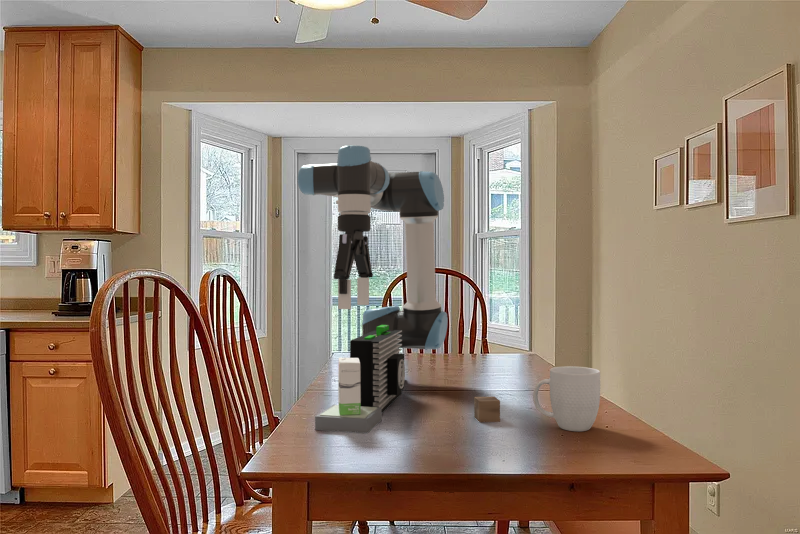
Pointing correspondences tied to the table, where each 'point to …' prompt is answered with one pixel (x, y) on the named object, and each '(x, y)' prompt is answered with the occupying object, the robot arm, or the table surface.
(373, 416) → the stand
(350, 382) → the ink box
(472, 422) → the table surface
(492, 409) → the walnut block
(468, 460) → the table surface
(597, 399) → the mug
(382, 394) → the electronic device
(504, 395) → the table surface
